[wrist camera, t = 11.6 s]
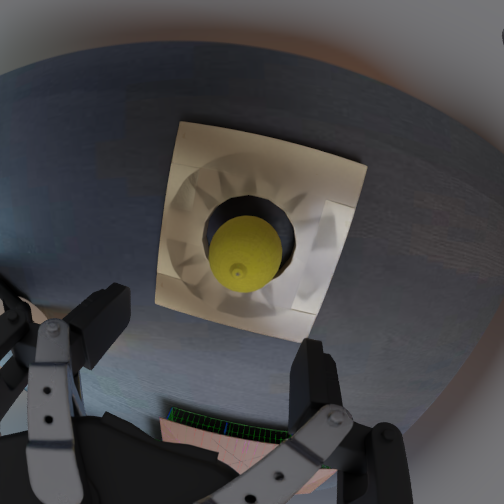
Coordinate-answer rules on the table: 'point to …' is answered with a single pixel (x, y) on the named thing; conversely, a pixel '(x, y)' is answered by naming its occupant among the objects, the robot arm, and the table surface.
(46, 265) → the table surface
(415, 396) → the table surface
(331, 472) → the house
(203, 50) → the table surface
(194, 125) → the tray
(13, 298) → the door handle
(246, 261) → the lemon
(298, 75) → the table surface
